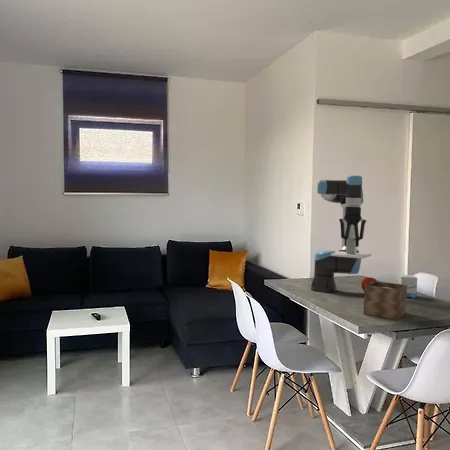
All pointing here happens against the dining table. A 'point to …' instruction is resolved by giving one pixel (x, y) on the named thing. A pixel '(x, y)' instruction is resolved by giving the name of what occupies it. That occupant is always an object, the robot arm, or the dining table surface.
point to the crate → (385, 299)
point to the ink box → (409, 284)
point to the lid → (350, 251)
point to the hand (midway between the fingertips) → (351, 252)
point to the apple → (367, 282)
